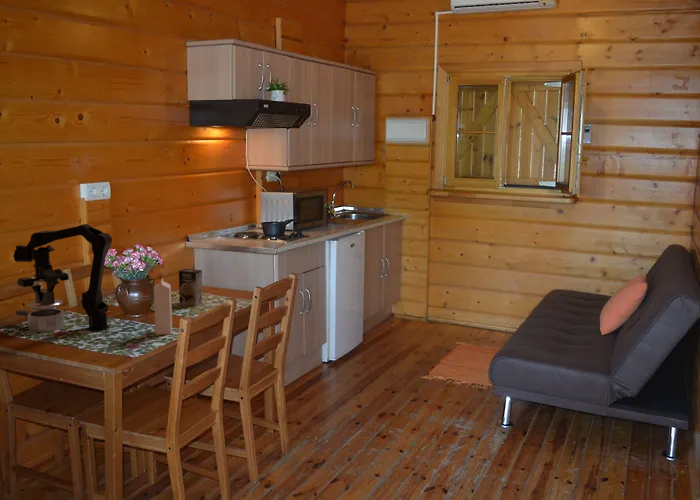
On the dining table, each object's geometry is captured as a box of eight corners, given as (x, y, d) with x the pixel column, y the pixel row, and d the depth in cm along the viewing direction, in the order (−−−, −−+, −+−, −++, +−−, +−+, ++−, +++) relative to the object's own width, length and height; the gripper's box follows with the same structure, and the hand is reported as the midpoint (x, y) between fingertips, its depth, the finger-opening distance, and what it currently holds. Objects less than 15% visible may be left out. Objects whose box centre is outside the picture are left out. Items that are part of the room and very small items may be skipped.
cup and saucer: (69, 306, 277) (67, 290, 276) (37, 312, 267) (36, 296, 266) (53, 301, 285) (52, 285, 284) (21, 307, 275) (20, 291, 274)
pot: (70, 324, 282) (69, 310, 281) (47, 332, 270) (46, 318, 269) (31, 319, 288) (30, 305, 287) (6, 327, 276) (5, 313, 275)
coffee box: (178, 304, 316) (177, 270, 314) (186, 301, 322) (185, 268, 320) (196, 306, 314) (195, 272, 311) (203, 303, 320) (202, 269, 317)
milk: (172, 330, 276) (170, 277, 272) (170, 334, 270) (169, 280, 266) (156, 330, 275) (155, 277, 271) (155, 334, 269) (153, 280, 265)
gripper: (28, 268, 261) (31, 307, 264) (74, 261, 275) (76, 298, 278) (15, 264, 268) (18, 302, 271) (60, 258, 282) (63, 294, 285)
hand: (44, 299), depth 276 cm, fingers closed on cup and saucer, 3 cm apart
